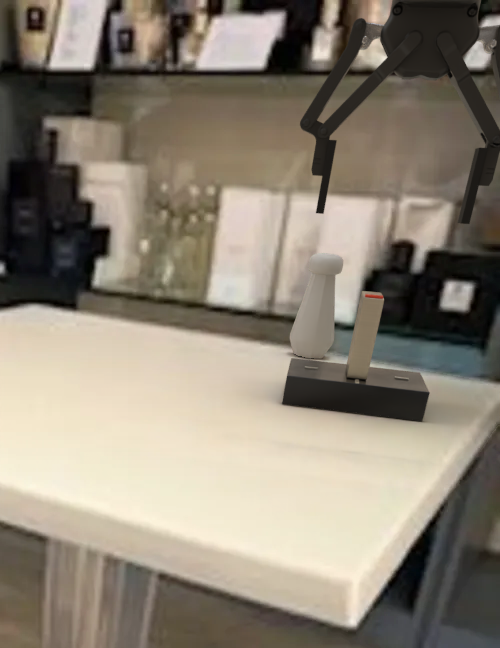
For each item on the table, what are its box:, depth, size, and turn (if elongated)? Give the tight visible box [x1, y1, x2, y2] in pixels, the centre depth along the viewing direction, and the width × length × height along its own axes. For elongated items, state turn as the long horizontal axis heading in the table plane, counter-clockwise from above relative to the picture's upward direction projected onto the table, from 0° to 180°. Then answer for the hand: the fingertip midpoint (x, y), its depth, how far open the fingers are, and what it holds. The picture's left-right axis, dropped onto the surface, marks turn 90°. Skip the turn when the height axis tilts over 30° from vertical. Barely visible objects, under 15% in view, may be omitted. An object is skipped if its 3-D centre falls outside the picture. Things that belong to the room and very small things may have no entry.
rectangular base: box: [281, 357, 431, 422], centre depth 94 cm, size 14×11×3 cm
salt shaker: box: [289, 252, 344, 360], centre depth 116 cm, size 6×6×13 cm
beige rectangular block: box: [346, 290, 385, 380], centre depth 92 cm, size 6×2×8 cm, turn 163°
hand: (390, 218), depth 87 cm, fingers open, 13 cm apart
